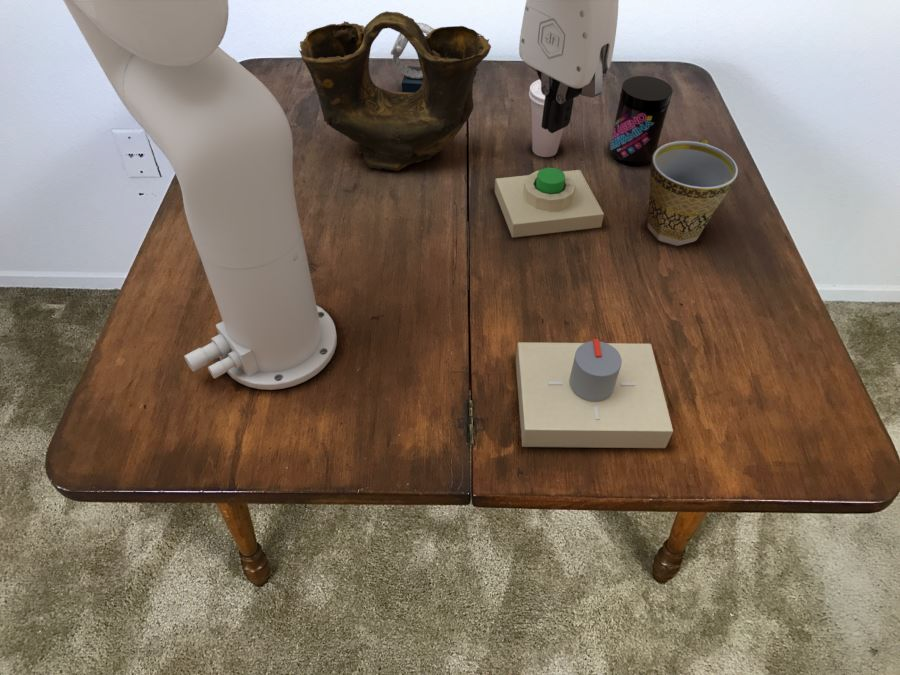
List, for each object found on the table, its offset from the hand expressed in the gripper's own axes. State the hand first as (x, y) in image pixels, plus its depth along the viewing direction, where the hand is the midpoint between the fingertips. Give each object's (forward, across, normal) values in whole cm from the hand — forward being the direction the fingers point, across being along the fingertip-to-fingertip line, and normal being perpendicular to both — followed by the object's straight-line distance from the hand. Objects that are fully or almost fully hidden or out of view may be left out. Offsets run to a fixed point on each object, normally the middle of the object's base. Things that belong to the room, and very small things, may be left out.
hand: (555, 126), depth 81 cm
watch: (+13, -35, +7) cm, 38 cm away
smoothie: (+12, -10, +11) cm, 19 cm away
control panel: (+13, +25, -19) cm, 34 cm away
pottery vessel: (+13, -23, -6) cm, 27 cm away
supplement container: (+12, -1, +20) cm, 23 cm away
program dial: (+10, +25, -19) cm, 33 cm away
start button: (+9, 0, +1) cm, 9 cm away
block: (+12, 0, +1) cm, 13 cm away
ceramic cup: (+12, +13, +12) cm, 22 cm away
